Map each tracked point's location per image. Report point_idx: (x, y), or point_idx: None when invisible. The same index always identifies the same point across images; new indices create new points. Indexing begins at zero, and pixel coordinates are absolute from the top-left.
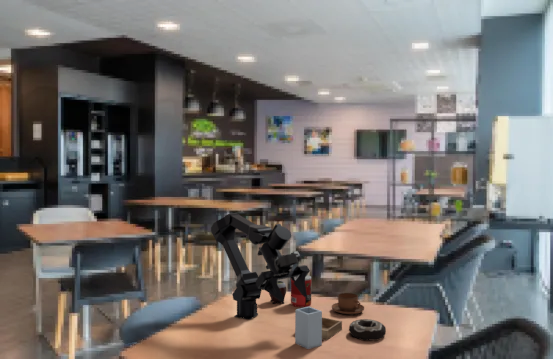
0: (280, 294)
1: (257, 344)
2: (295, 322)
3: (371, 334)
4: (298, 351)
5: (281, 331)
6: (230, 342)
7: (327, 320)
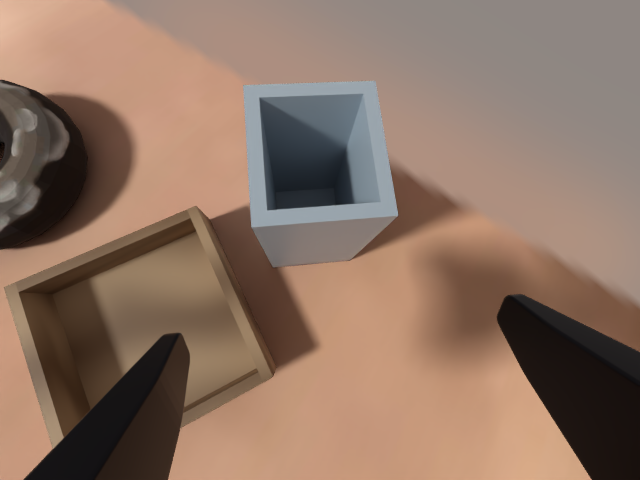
0: (597, 338)
1: (495, 334)
2: (371, 238)
3: (41, 94)
4: None
5: (323, 433)
6: None
7: (49, 365)
